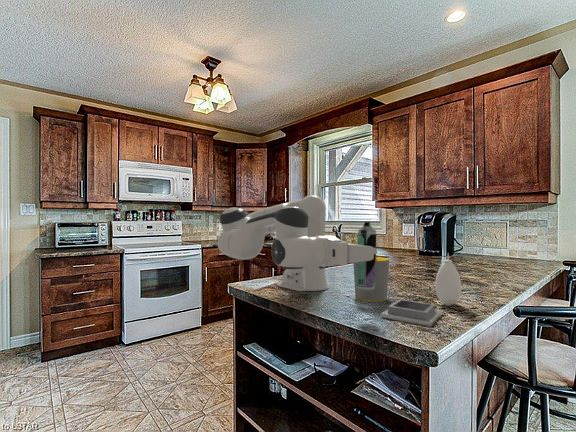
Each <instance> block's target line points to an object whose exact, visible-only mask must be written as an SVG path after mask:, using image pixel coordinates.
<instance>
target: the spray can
mask: <svg viewBox="0 0 576 432" xmlns="http://www.w3.org/2000/svg"><path fill="white" fill-rule="evenodd" d="M357 245H364V246H371V247H373V248H377V230H376V229H375V228H373V226H371V221H365V222H364V224H363V225H362V227H360V228H359V229H358V231H357ZM376 257H377V254H374V258H373V259H372V260H370V261H364V262H357V280H356V288H358V289H363V290H374V289H375V265H376Z"/></svg>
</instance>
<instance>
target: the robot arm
mask: <svg viewBox="0 0 576 432" xmlns="http://www.w3.org/2000/svg"><path fill="white" fill-rule="evenodd" d="M326 210H327V208H326V204H325V201H324V199H322V198H321V197H320V196H319V195H315V194H310V195H306V196H304V197H303V198H301V199H297V200H291V201H288V202H285V203H284V202H283V203H280V204H276V205H272V206H268V207H265V208H261V209H258V210H255V211H253V212H251V213H249V211H245V209H243V208H241V207H229V208H227V209H225V210H224V211H223V212H221V213H220V214H219V224H220V225H221V230H222V233H220V235H219V236H218V239H217V248H218V251H219V252H220V253H221V254H223V255H225V256H227V257H229V258H232V259H235V260H238V261H243V260H252V259H255V258H256V257H257V256H258V255H259V254H260V252H261V251H262V249H263V247H264V242H265V238H266V235H268V234H273V233H275V240H274V241H273V243H272V245H271V251H270V254H271V259H272V262H273V263H274V264H275V265H276V266H278V267H279V266H280V267H283V269H285V270H284V271H283V273H282V276H281V277H282V278H281V279H282V280H281V281H278V282H277V283H276V286H277V287H281V288H284V289H288V290H291V291H292V290H293V291H297V292H309V291H310V292H318V291H324V290H328V289H329V284H328V281H327V274H326V273H327V272H326V267H335V266H342V267H343V266H348V264H354V263H356V262H364V261H370V260H372V259H373V258H374V254H376V255H377V253H378V248H377V247H376V248H373V247H371V246H364V245H358V243H349V242H347V241H345V240H342V239H339V238H338V237H337V236H335V235H325V234H326Z"/></svg>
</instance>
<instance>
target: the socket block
mask: <svg viewBox="0 0 576 432" xmlns="http://www.w3.org/2000/svg"><path fill="white" fill-rule="evenodd" d="M436 306H437V305H436V304H435V303H429V302H428V303H427V302H423V301H422V302H420V301H415V300H407V299H401V298H399V299H397V300H396V301H394V302H392V303H391V304H389V305H388V306H387V309H385V310H384V311H382V312H381V313H380V317H381V318H384V319H389V320H395V321H399V322H403V323H404V322H405V323H408V324H409V323H410V324H414V325H419V326H420V325H421V326H425V327H432V326H433V325H434V324H435V323H436V321H438V320H439V319H440V318H441V317H442V315H443V310H439V309H437V307H436Z"/></svg>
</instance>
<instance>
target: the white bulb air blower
mask: <svg viewBox="0 0 576 432" xmlns="http://www.w3.org/2000/svg"><path fill="white" fill-rule="evenodd" d="M446 257H447V258H446V259H444V260H443V263H442V264H441V265H440V267H439V269H438V271H437V274H436V276H435V277H436V278H435V285H434V288H435V293H436V296H437V298H438V300H439V301H440V302H441V303H442V304H444V305H445V306H452V305H454V304H455V303H456V302H458V301H459V299H460V296H461V293H462V282H461V277H460V274H459V272H458V270H457V267H456V266H455V264H454V263H453V260H451V259H450V254H449V252H447V256H446Z"/></svg>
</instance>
